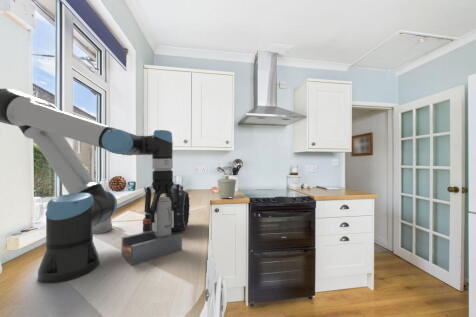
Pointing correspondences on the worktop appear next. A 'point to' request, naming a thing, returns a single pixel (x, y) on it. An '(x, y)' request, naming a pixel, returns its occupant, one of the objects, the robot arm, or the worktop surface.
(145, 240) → the channel
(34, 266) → the worktop surface
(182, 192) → the black thick disc
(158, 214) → the energy drink can
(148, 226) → the supplement bottle
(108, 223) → the engine component
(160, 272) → the worktop surface
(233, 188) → the canister
